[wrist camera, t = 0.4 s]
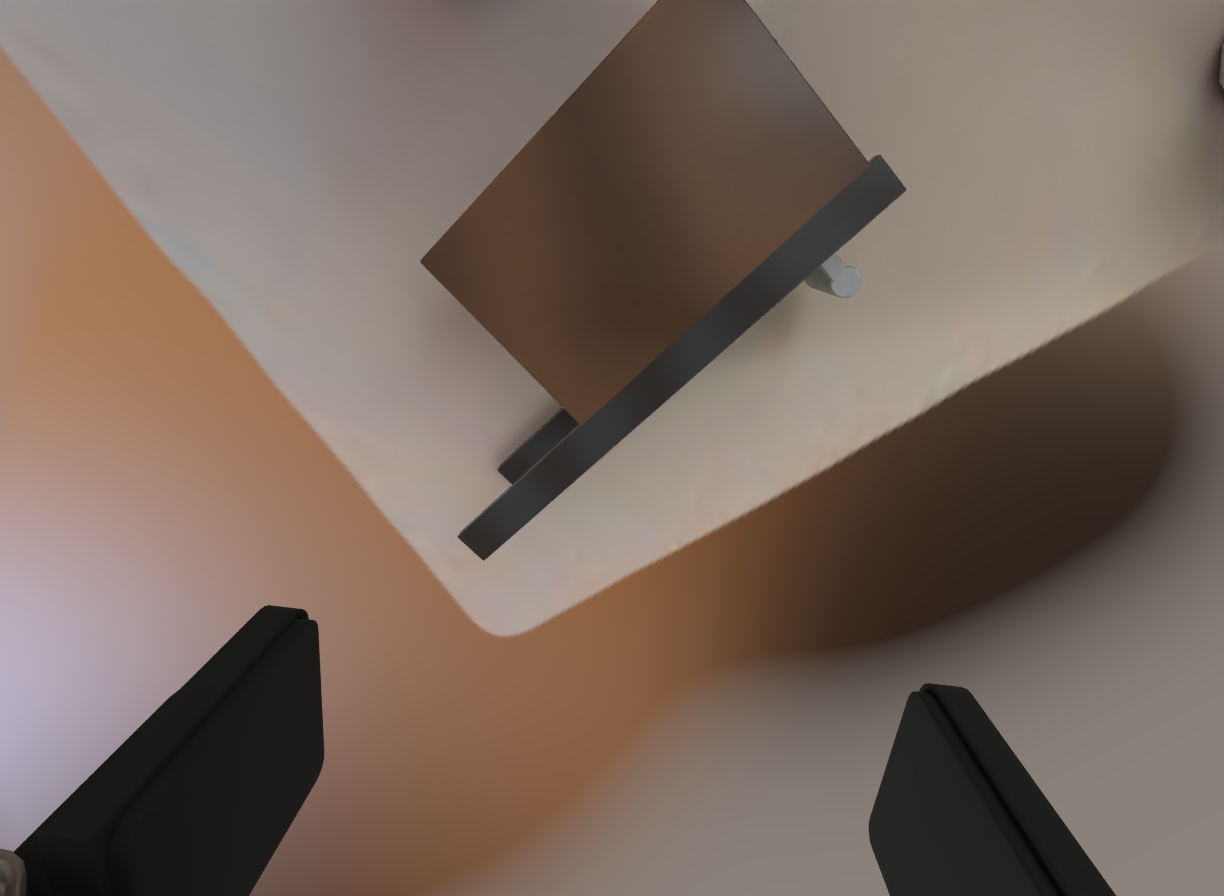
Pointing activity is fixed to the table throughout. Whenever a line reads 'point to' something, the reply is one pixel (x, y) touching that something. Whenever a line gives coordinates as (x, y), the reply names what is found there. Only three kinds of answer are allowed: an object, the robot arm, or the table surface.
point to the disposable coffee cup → (1222, 67)
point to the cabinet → (651, 232)
